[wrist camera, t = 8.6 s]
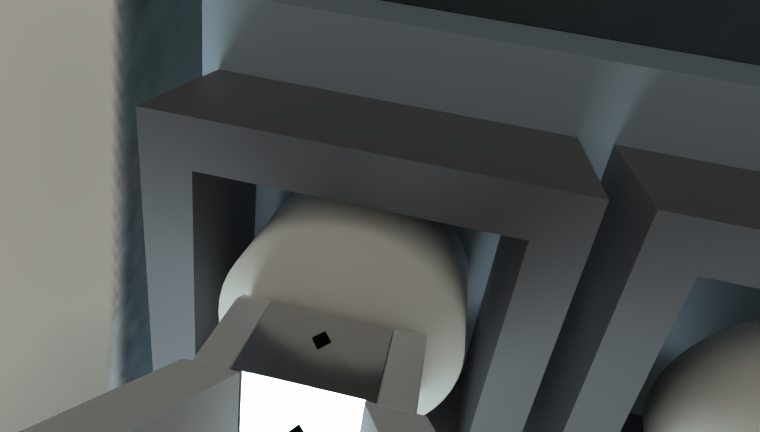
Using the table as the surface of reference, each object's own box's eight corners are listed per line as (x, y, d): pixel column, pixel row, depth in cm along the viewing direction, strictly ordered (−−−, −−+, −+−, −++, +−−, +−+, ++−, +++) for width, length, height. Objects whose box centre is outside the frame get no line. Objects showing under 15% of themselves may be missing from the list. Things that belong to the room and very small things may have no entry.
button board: (1358, 169, 10) (2225, 385, 5) (911, 595, 16) (1096, 876, 11) (265, -20, 12) (107, 1, 7) (246, 429, 18) (157, 608, 13)
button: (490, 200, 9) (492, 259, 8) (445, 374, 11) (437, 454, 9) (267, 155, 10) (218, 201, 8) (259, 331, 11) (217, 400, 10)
